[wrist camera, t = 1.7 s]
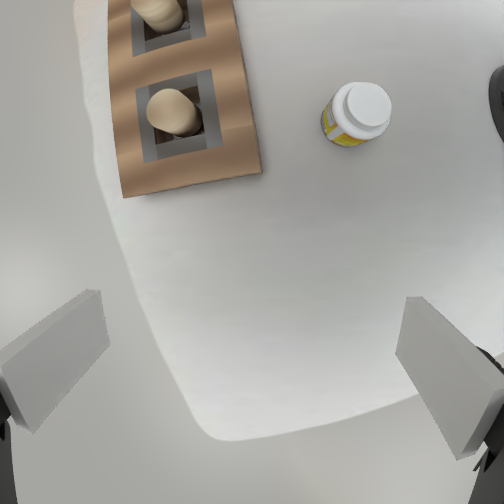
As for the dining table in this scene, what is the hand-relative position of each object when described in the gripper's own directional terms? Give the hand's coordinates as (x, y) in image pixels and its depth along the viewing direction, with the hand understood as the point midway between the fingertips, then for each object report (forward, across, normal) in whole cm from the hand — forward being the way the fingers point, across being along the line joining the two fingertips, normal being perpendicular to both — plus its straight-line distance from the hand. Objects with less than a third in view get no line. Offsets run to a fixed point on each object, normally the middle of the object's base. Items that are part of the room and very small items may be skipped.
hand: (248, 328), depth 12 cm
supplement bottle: (+24, +9, +12) cm, 28 cm away
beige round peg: (+19, -10, +24) cm, 32 cm away
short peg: (+21, -8, +12) cm, 25 cm away
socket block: (+24, -9, +18) cm, 31 cm away
